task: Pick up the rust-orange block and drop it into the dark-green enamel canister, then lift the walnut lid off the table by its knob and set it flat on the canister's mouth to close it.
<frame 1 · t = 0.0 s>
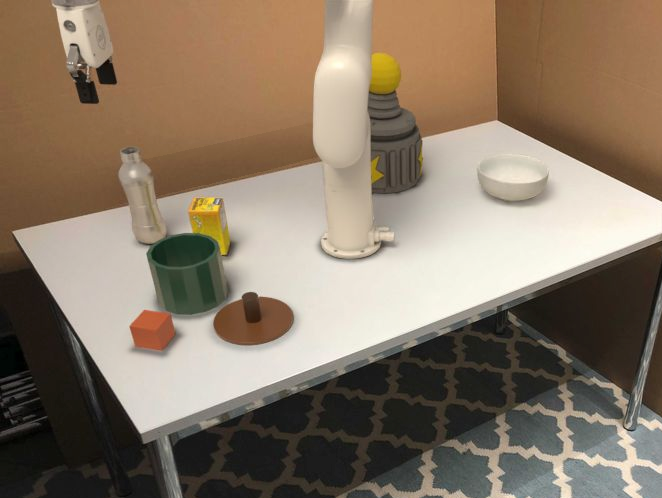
hand: (99, 93, 142), 31 cm above the table, tool pointing down, fingers open, 9 cm apart
block: (156, 342, 135), on the table
canister lid: (254, 321, 140), point 1 cm above the table
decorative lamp: (384, 178, 189), on the table
canister: (193, 297, 146), on the table
cereal bowl: (510, 195, 185), on the table
supplement box: (214, 251, 160), on the table
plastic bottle: (152, 240, 162), on the table
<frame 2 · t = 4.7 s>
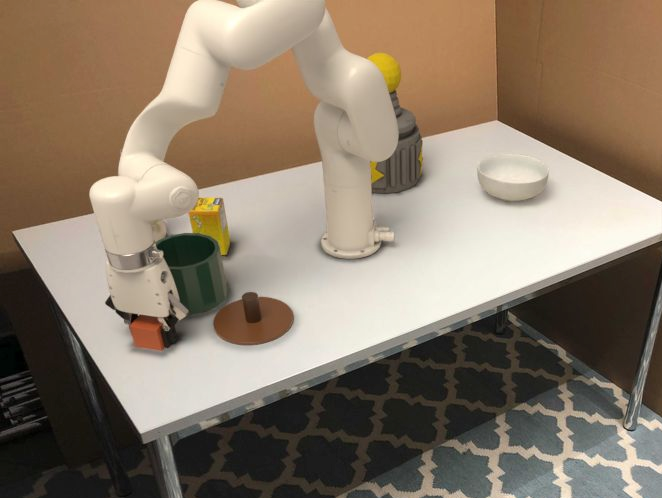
hand: (155, 340, 135), 0 cm above the table, tool pointing down, fingers closed on block, 5 cm apart
block: (156, 342, 135), on the table, touching gripper
everything else where it was.
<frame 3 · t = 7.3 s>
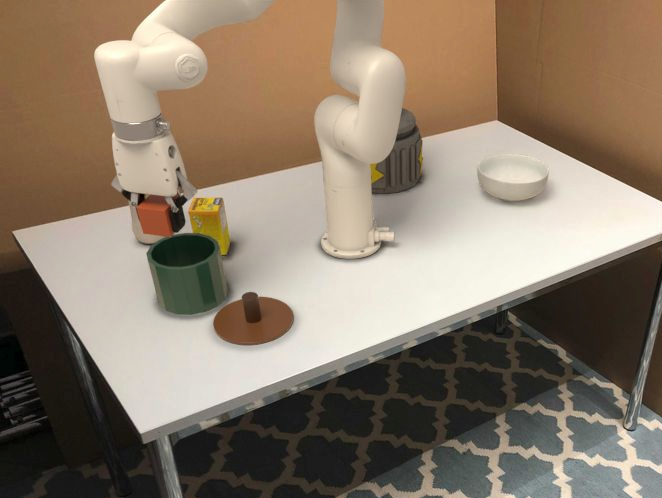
hand: (163, 225, 132), 18 cm above the table, tool pointing down, fingers closed on block, 5 cm apart
block: (164, 228, 132), point 18 cm above the table, touching gripper
everything else where it was.
when the fingers open (12 cm above the table, at t = 9.9 s): block drops 11 cm, resting on canister.
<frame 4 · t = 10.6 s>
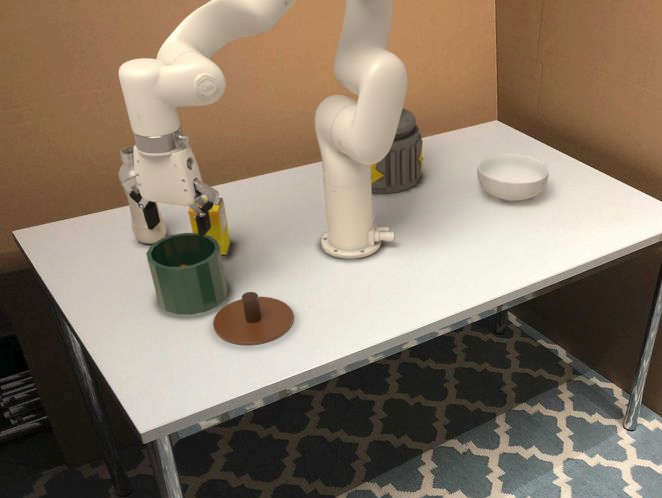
hand: (179, 229, 137), 15 cm above the table, tool pointing down, fingers open, 9 cm apart
block: (192, 295, 146), point 1 cm above the table, touching canister
everything else where it was.
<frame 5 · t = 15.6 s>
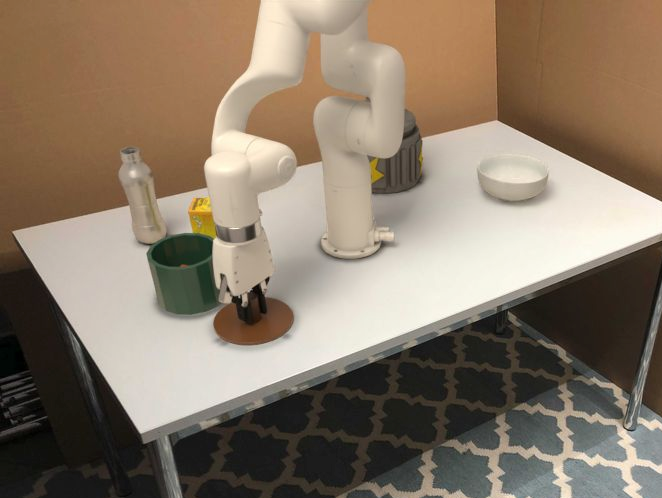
hand: (252, 315, 139), 2 cm above the table, tool pointing down, fingers closed on canister lid, 2 cm apart
canister lid: (254, 321, 140), point 1 cm above the table, touching gripper
everything else where it was.
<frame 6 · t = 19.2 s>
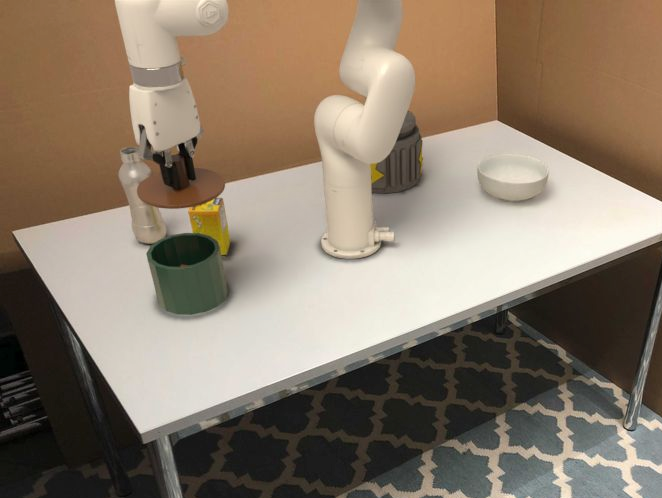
hand: (180, 181, 129), 25 cm above the table, tool pointing down, fingers closed on canister lid, 2 cm apart
canister lid: (181, 188, 130), point 24 cm above the table, touching gripper
everything else where it was.
when the fingers open (12 cm above the table, at t = 23.2 s): canister lid stays where it is, resting on canister.
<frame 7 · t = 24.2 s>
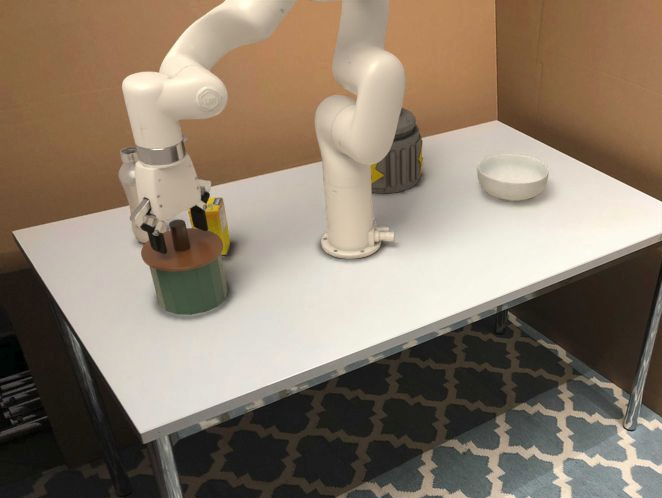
hand: (181, 239, 138), 13 cm above the table, tool pointing down, fingers open, 9 cm apart
canister lid: (183, 250, 140), point 10 cm above the table, touching canister
everything else where it was.
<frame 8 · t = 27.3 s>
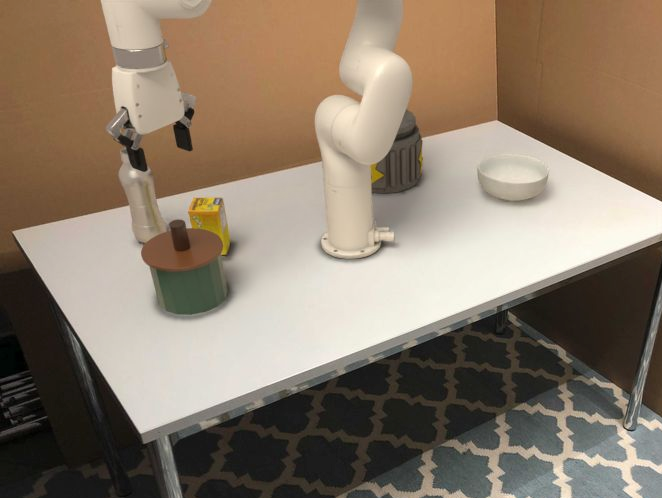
hand: (163, 159, 129), 28 cm above the table, tool pointing down, fingers open, 9 cm apart
nothing on the table moved.
at the end: block inside the target area in the canister (0.1 cm from its centre), point 0.5 cm above the canister's base; canister lid 0.1 cm off-centre on the canister, point 10.5 cm above the canister's base; canister lid tilted 0° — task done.
